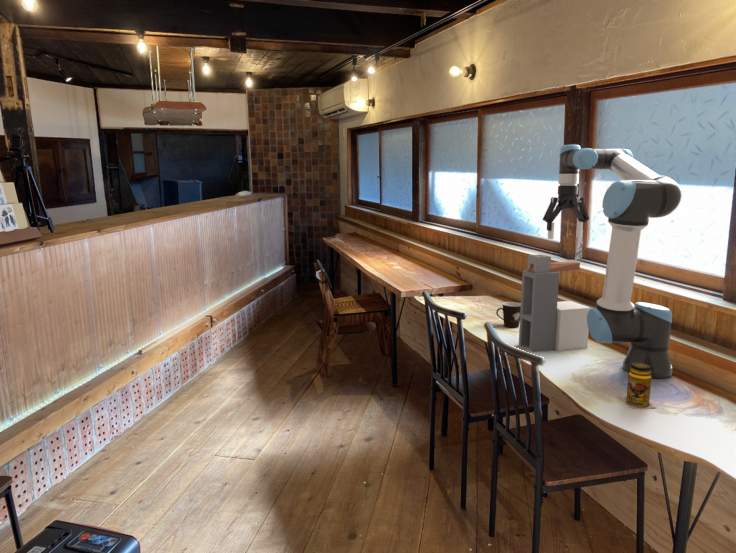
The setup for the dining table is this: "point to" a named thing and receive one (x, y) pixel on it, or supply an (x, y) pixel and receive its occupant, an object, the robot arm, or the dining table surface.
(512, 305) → the coffee mug
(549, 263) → the grey mallet
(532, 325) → the stand
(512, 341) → the dining table surface
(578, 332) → the block
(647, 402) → the condiment
